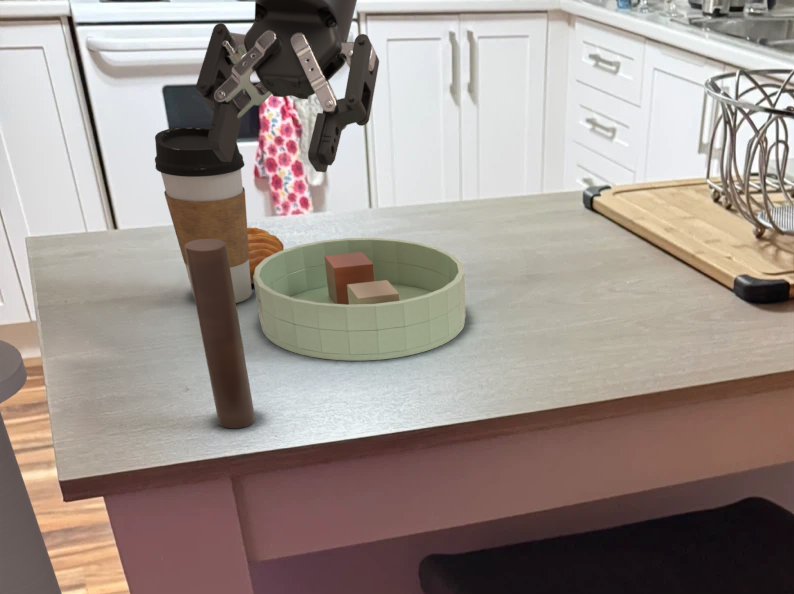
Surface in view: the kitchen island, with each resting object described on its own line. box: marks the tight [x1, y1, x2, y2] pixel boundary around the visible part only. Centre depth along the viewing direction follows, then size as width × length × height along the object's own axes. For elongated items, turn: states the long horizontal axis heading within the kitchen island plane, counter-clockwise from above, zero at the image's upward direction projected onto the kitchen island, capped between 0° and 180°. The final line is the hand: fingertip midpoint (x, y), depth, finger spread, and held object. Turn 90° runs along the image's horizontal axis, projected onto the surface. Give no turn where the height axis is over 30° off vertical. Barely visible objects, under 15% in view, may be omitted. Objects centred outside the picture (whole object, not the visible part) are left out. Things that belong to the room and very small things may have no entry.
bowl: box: [253, 237, 467, 362], centre depth 103 cm, size 20×20×5 cm
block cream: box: [347, 280, 400, 305], centre depth 100 cm, size 4×4×4 cm
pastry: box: [247, 227, 285, 285], centre depth 113 cm, size 9×7×4 cm
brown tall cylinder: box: [185, 239, 256, 429], centre depth 82 cm, size 3×3×14 cm
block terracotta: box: [325, 252, 374, 305], centre depth 106 cm, size 4×4×4 cm
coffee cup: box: [154, 126, 253, 304], centre depth 104 cm, size 8×8×15 cm
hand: (268, 161), depth 84 cm, fingers open, 8 cm apart
